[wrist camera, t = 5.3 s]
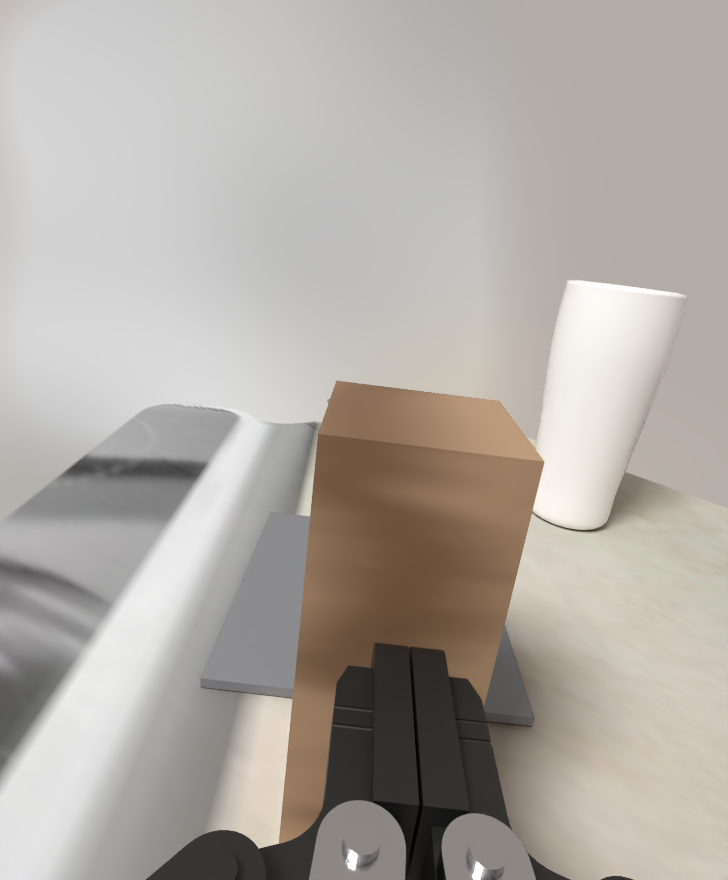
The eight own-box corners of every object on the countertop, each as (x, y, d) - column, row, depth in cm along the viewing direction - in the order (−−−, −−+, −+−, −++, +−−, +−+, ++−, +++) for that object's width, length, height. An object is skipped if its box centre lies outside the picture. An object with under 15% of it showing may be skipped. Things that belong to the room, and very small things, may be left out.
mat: (474, 542, 32) (476, 536, 32) (531, 726, 20) (534, 717, 20) (270, 518, 32) (270, 511, 32) (200, 687, 20) (200, 678, 20)
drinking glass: (507, 486, 41) (555, 276, 36) (600, 500, 40) (662, 290, 35) (521, 529, 34) (581, 282, 29) (632, 547, 34) (712, 299, 29)
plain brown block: (429, 732, 19) (499, 401, 15) (443, 870, 15) (544, 461, 11) (301, 716, 19) (336, 380, 15) (277, 851, 15) (318, 433, 11)
